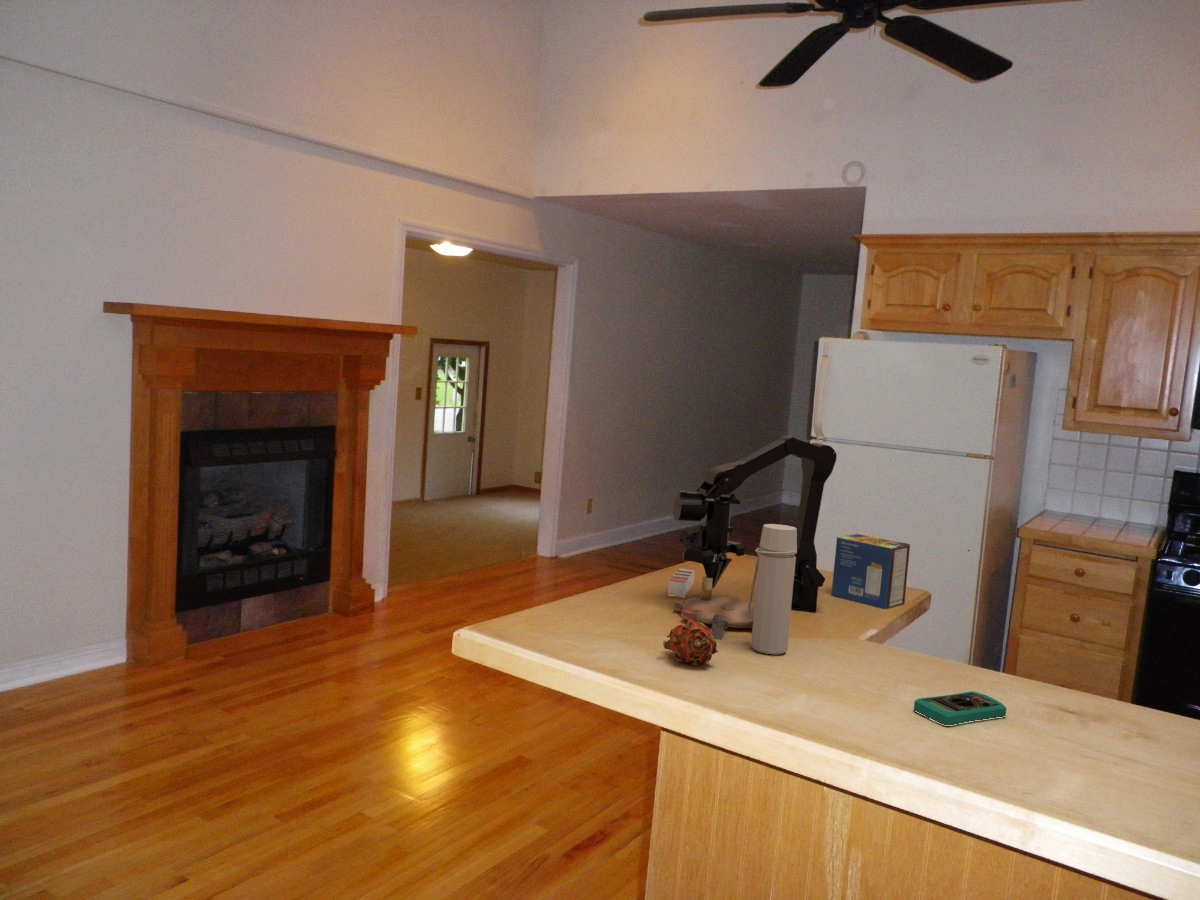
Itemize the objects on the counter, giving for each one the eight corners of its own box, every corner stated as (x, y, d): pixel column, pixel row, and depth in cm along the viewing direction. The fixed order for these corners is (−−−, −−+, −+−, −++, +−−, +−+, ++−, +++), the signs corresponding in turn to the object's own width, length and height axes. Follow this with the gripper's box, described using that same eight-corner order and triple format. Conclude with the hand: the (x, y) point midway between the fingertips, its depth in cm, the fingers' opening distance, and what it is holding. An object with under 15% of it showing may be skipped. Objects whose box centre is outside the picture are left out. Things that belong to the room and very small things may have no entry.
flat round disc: (782, 609, 209) (785, 582, 209) (775, 635, 187) (778, 605, 187) (684, 596, 215) (686, 569, 215) (666, 620, 193) (668, 590, 192)
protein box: (850, 590, 239) (855, 533, 238) (905, 604, 228) (911, 544, 227) (829, 595, 232) (835, 536, 230) (885, 609, 221) (892, 547, 220)
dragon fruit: (706, 682, 163) (669, 670, 173) (736, 650, 167) (698, 641, 177) (683, 646, 161) (647, 636, 171) (714, 615, 164) (677, 607, 175)
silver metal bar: (693, 585, 233) (694, 569, 233) (683, 599, 218) (685, 582, 217) (678, 583, 234) (679, 567, 234) (667, 597, 219) (668, 580, 218)
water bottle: (795, 651, 180) (806, 528, 178) (773, 659, 174) (785, 531, 172) (756, 640, 186) (766, 521, 184) (734, 646, 181) (745, 523, 178)
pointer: (725, 633, 190) (726, 615, 189) (722, 639, 185) (724, 620, 185) (713, 631, 190) (715, 613, 190) (710, 637, 186) (712, 618, 185)
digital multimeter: (1008, 720, 152) (1010, 703, 151) (945, 730, 145) (947, 712, 145) (972, 704, 158) (974, 688, 158) (910, 713, 151) (912, 696, 151)
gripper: (707, 513, 221) (702, 575, 223) (666, 519, 206) (660, 586, 208) (748, 520, 215) (742, 584, 216) (708, 527, 200) (702, 596, 201)
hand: (711, 587), depth 210 cm, fingers closed
